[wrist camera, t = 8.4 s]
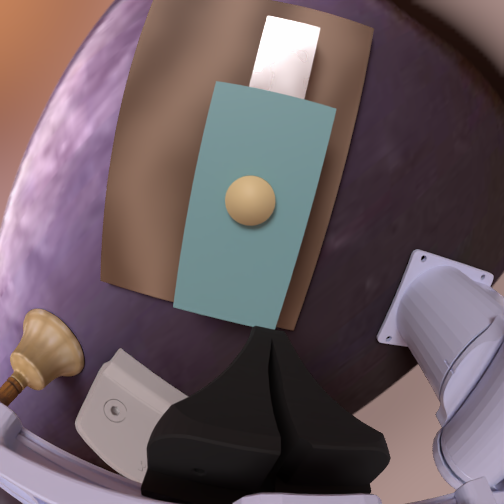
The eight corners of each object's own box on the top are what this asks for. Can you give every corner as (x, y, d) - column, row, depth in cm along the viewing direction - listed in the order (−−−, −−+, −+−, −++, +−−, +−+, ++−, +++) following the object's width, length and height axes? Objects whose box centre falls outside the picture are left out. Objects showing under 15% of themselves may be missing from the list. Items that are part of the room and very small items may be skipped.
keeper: (323, 117, 17) (338, 107, 13) (273, 301, 21) (274, 336, 17) (226, 94, 17) (214, 78, 13) (189, 280, 21) (170, 311, 17)
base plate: (369, 33, 15) (373, 28, 14) (292, 323, 22) (293, 330, 21) (160, -3, 15) (156, -8, 14) (106, 275, 22) (100, 280, 21)
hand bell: (74, 386, 27) (7, 488, 12) (21, 340, 26) (-60, 424, 11) (94, 346, 25) (3, 470, 10) (32, 292, 23) (-78, 384, 8)
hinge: (257, 436, 27) (227, 519, 19) (231, 440, 30) (202, 513, 22) (117, 345, 24) (58, 430, 16) (106, 359, 27) (56, 432, 19)
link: (278, 229, 19) (279, 238, 17) (215, 215, 19) (209, 222, 17) (323, 41, 15) (329, 30, 13) (259, 27, 15) (258, 14, 13)
